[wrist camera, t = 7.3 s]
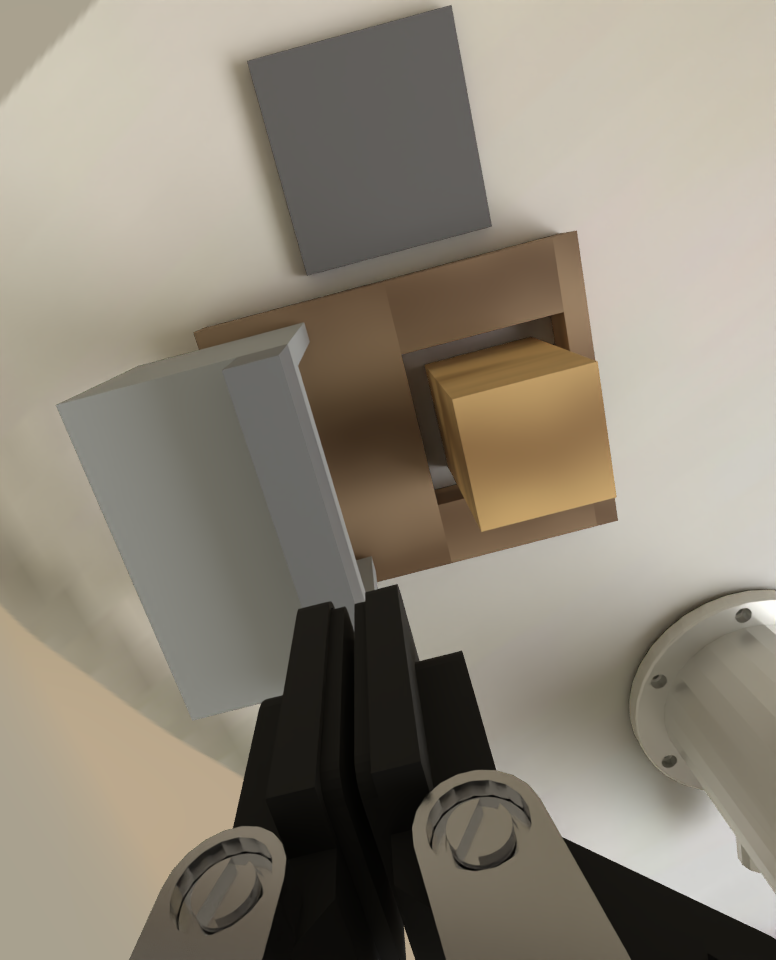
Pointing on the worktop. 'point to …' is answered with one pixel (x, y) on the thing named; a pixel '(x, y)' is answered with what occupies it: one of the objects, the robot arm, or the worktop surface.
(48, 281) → the worktop surface
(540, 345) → the block
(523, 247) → the board
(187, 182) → the worktop surface
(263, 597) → the cover
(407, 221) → the mat
